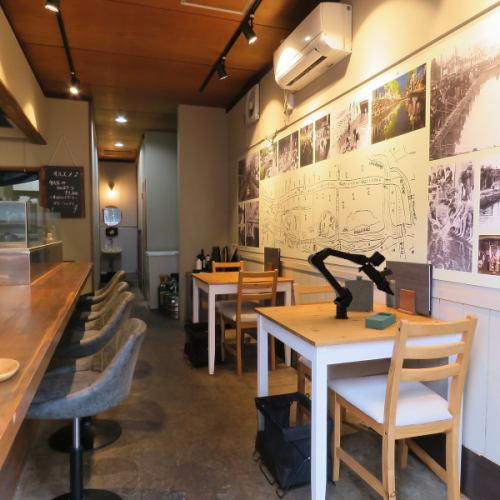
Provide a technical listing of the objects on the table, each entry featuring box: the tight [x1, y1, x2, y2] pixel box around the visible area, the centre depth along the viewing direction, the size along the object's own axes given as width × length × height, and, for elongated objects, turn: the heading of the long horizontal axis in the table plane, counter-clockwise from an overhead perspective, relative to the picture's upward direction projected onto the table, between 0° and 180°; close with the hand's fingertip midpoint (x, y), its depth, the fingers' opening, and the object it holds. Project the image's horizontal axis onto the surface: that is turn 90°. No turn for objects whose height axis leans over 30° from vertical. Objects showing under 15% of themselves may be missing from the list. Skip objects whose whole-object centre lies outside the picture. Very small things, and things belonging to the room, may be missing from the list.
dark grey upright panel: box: [344, 275, 375, 312], centre depth 234 cm, size 16×4×20 cm, turn 77°
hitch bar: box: [364, 311, 397, 330], centre depth 200 cm, size 20×8×4 cm, turn 143°
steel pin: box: [386, 279, 396, 309], centre depth 214 cm, size 4×4×14 cm
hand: (393, 294), depth 214 cm, fingers closed on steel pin, 4 cm apart
